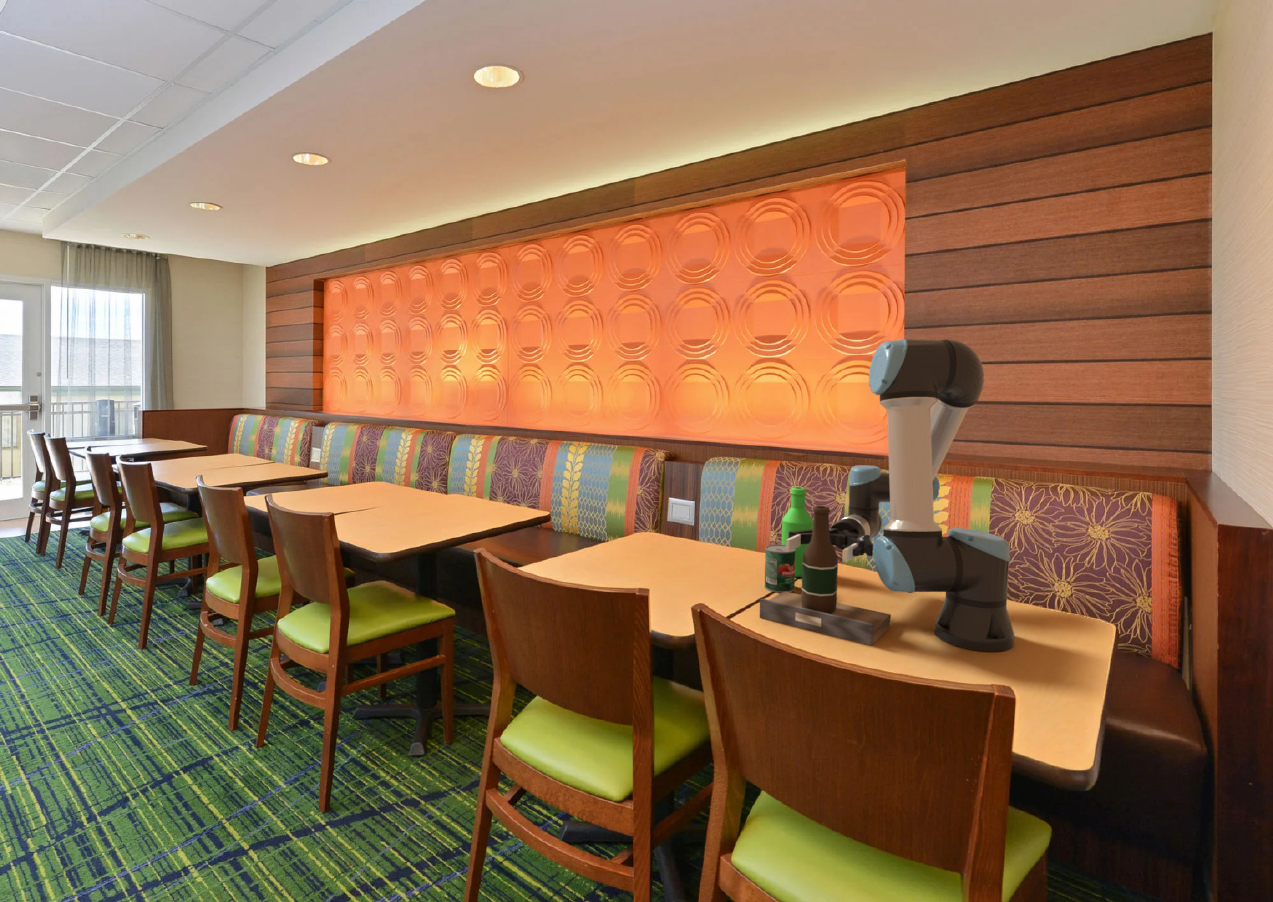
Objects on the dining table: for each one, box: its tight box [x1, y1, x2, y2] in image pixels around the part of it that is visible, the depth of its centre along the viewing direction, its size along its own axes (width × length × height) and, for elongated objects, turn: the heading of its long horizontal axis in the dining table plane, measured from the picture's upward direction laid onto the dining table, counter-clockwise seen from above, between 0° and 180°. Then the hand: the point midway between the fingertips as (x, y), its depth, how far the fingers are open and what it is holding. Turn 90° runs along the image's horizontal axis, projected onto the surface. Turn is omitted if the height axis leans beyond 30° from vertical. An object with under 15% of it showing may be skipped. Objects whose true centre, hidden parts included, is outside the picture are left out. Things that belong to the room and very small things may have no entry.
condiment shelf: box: [759, 591, 892, 646], centre depth 148 cm, size 26×13×4 cm, turn 52°
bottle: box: [781, 486, 814, 578], centre depth 184 cm, size 9×9×25 cm
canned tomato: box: [764, 544, 796, 594], centre depth 172 cm, size 8×8×11 cm
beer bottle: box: [801, 505, 839, 614], centre depth 147 cm, size 8×8×24 cm
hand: (815, 550), depth 144 cm, fingers open, 13 cm apart
